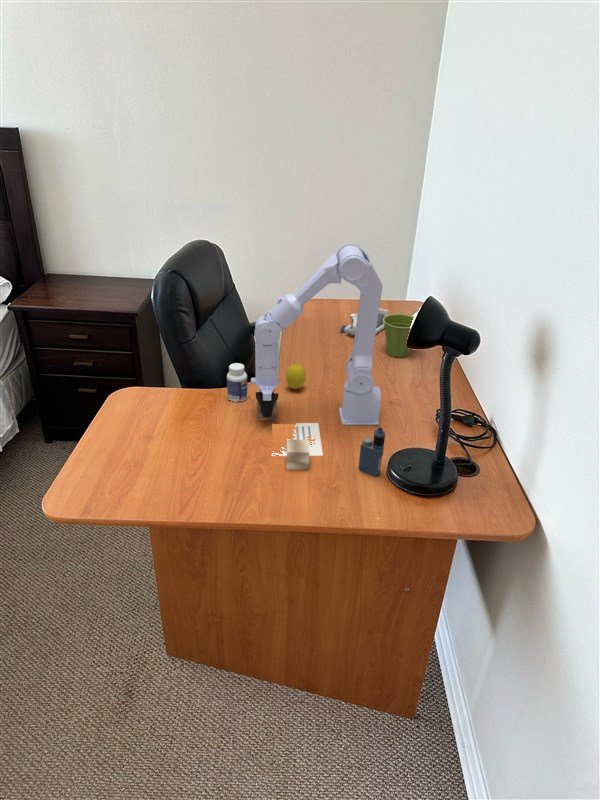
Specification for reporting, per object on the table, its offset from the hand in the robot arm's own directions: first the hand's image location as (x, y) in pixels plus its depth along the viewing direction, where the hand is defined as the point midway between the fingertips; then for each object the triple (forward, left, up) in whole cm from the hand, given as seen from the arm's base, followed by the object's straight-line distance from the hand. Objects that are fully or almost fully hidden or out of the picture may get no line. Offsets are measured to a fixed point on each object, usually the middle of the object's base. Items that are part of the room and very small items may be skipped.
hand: (267, 410), depth 145 cm
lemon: (-8, -14, -2) cm, 16 cm away
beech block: (-7, +21, -2) cm, 22 cm away
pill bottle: (+8, -9, -2) cm, 12 cm away
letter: (-7, +11, -1) cm, 13 cm away
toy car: (-34, -55, -2) cm, 65 cm away
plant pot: (-42, -38, -2) cm, 57 cm away
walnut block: (0, 0, -1) cm, 1 cm away
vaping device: (-23, +24, -2) cm, 33 cm away
